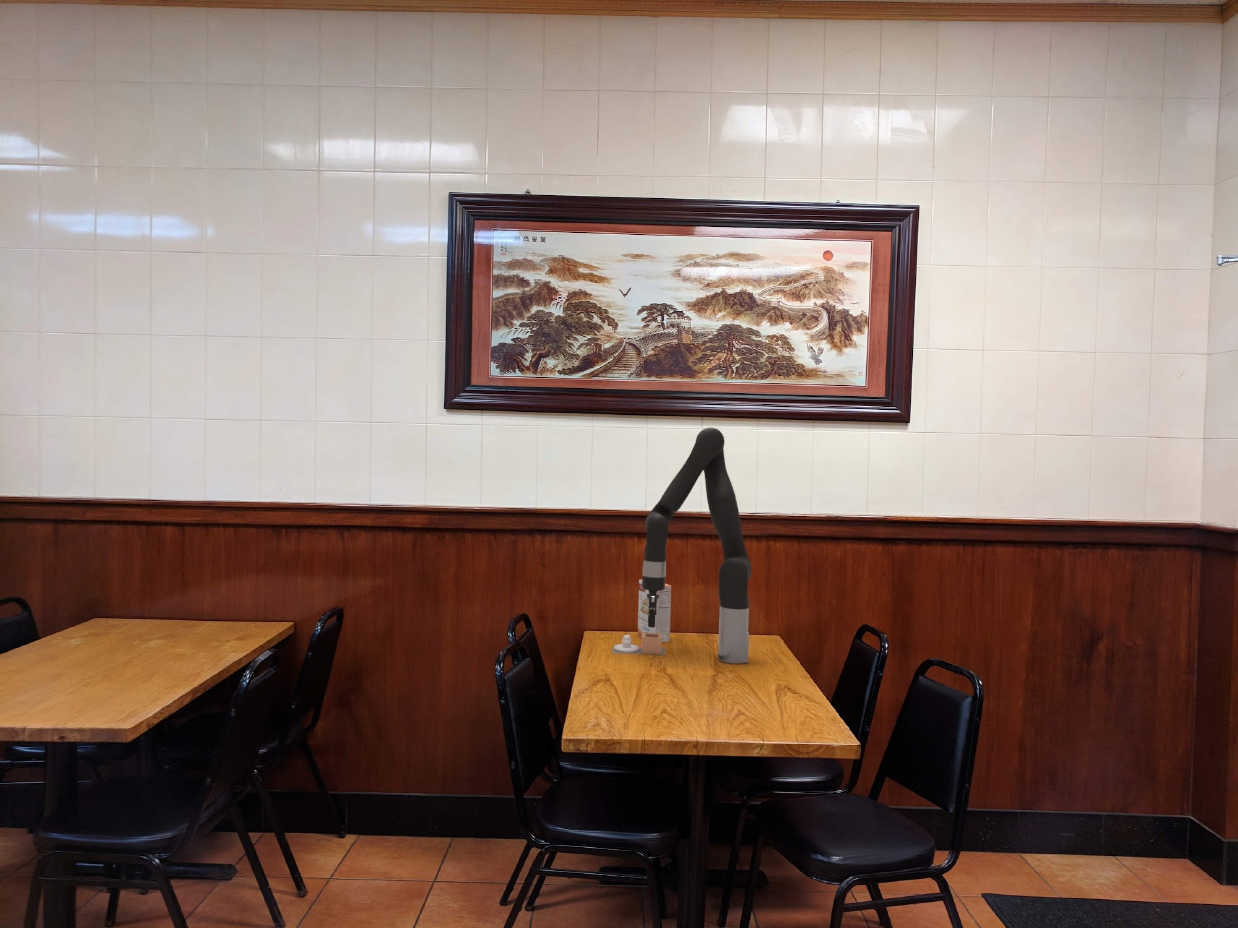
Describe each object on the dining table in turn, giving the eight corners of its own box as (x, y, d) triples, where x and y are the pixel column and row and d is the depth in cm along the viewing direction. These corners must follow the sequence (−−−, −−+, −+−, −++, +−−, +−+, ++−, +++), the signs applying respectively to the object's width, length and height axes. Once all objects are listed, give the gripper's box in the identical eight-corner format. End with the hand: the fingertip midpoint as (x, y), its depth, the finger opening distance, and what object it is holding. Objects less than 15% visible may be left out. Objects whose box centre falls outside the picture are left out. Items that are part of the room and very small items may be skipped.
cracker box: (636, 637, 288) (638, 578, 287) (651, 636, 290) (653, 578, 290) (654, 647, 275) (656, 585, 274) (670, 645, 277) (672, 584, 277)
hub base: (664, 652, 268) (665, 633, 268) (665, 659, 259) (666, 639, 259) (612, 650, 268) (613, 631, 268) (612, 657, 259) (612, 637, 259)
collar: (660, 648, 267) (661, 633, 266) (661, 653, 260) (662, 638, 260) (641, 648, 267) (641, 632, 267) (641, 652, 260) (642, 637, 260)
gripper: (666, 578, 256) (663, 629, 257) (665, 571, 270) (662, 620, 271) (642, 577, 256) (639, 628, 257) (642, 570, 271) (639, 618, 271)
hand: (651, 624), depth 264 cm, fingers open, 8 cm apart
